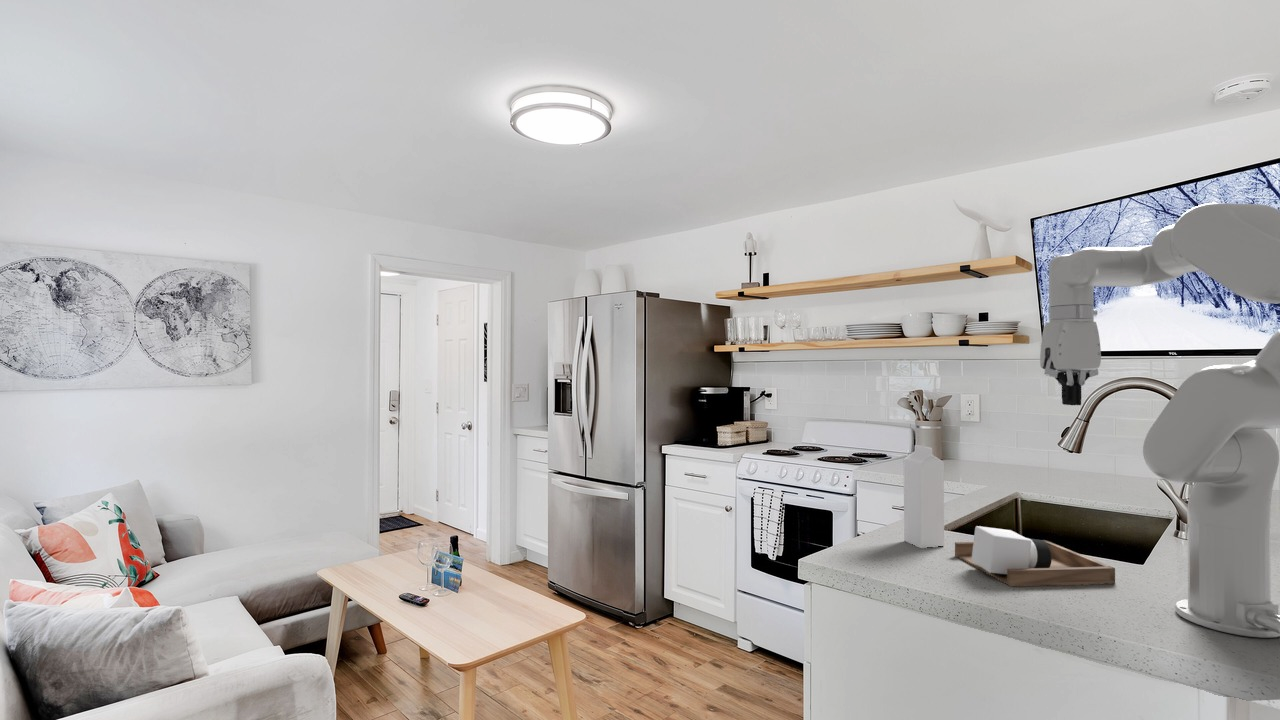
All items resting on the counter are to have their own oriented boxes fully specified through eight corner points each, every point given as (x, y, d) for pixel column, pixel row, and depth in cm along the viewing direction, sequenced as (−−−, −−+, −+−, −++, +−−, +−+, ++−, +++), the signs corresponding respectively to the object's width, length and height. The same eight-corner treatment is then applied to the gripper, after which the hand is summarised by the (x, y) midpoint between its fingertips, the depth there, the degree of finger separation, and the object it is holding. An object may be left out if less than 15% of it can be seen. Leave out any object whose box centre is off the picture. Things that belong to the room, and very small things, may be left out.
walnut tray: (1115, 583, 115) (1115, 568, 115) (1010, 586, 114) (1010, 570, 114) (1045, 553, 133) (1045, 540, 133) (954, 556, 132) (954, 542, 132)
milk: (926, 539, 144) (926, 444, 144) (944, 547, 138) (944, 447, 138) (903, 541, 143) (903, 444, 143) (920, 548, 137) (920, 448, 137)
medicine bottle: (989, 573, 117) (1054, 581, 117) (993, 535, 117) (1058, 543, 117) (970, 560, 124) (1031, 568, 124) (974, 525, 124) (1036, 533, 124)
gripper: (1091, 316, 132) (1091, 403, 132) (1023, 316, 132) (1024, 403, 131) (1120, 314, 125) (1121, 405, 125) (1049, 314, 124) (1049, 406, 124)
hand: (1071, 404), depth 128 cm, fingers closed
